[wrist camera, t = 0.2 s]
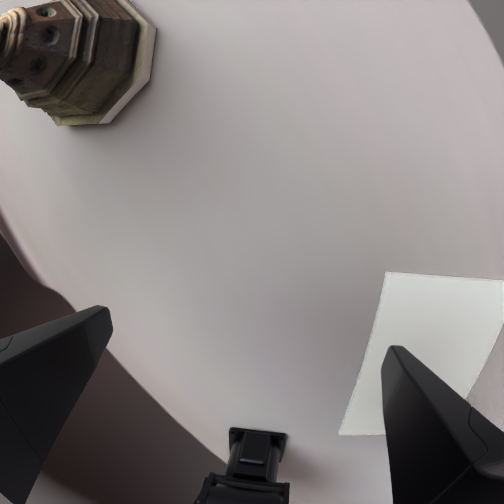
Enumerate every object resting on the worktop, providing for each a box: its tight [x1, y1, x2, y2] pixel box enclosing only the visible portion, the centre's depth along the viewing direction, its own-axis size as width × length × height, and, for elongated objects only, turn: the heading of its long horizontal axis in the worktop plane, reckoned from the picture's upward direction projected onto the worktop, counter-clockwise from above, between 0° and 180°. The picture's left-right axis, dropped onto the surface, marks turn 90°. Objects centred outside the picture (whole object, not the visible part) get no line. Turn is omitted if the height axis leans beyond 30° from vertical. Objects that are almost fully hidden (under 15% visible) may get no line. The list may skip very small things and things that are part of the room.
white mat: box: [338, 272, 504, 435], centre depth 25 cm, size 20×14×1 cm
